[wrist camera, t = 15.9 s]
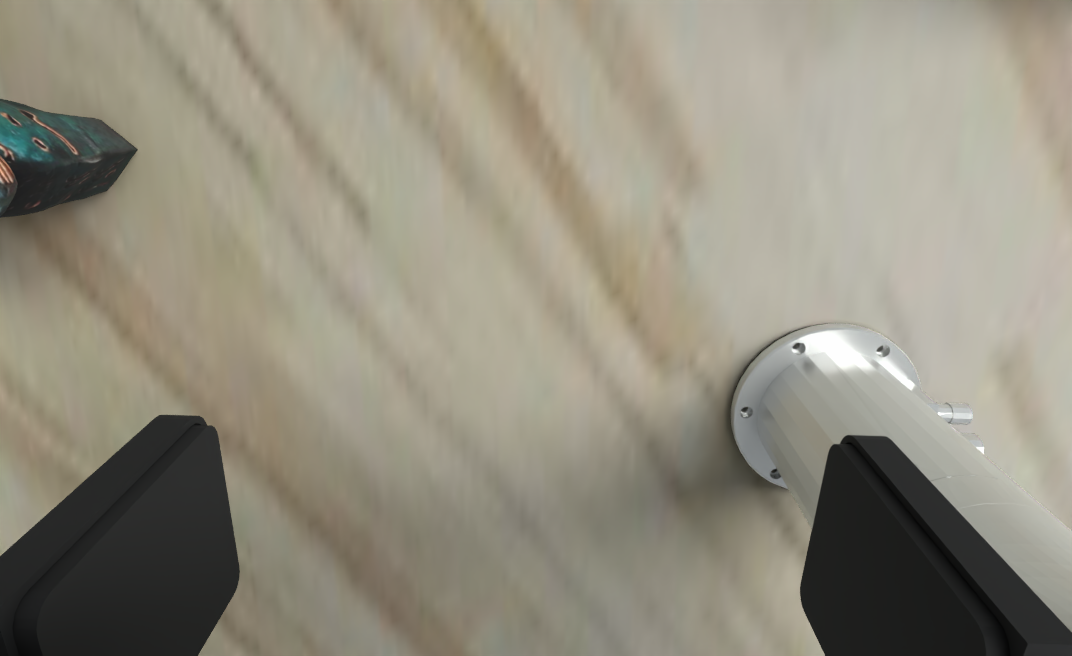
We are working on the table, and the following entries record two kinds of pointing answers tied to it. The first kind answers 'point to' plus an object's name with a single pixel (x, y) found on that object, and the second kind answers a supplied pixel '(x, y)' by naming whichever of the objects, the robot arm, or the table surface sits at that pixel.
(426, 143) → the table surface
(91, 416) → the table surface
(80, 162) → the ceramic cat
